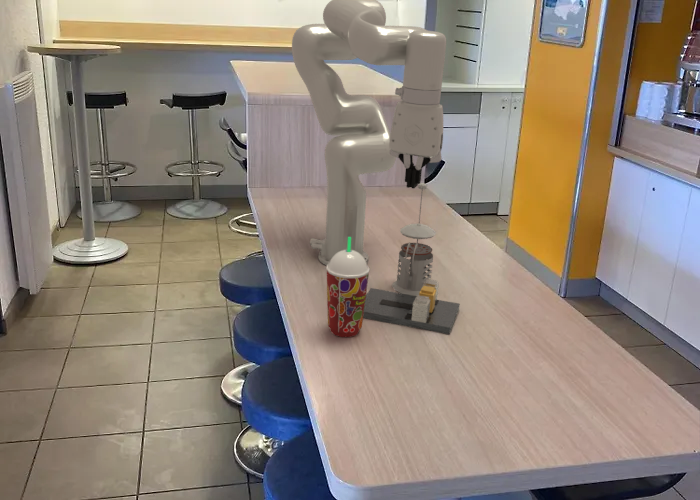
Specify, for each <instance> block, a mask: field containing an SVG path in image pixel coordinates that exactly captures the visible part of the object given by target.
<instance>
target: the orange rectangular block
mask: <svg viewBox="0 0 700 500" xmlns="http://www.w3.org/2000/svg"><path fill="white" fill-rule="evenodd" d="M419 295H420V296H426V297H429V299H431V301H430V311H429V312H430V313H432V311H433V309H434V307H435V298H436V290H435V288H434V287H429V286H423V288H422V289H421V291H420V293H419Z"/></svg>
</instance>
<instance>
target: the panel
mask: <svg viewBox="0 0 700 500" xmlns="http://www.w3.org/2000/svg"><path fill="white" fill-rule="evenodd" d="M423 286H429V287H434V288H435V290H436V298H435V307H434V309H433V311H432V313H430V312H429V311H430V301H431V299H429V297H426V296H420V295H417V296H413V295H408V294H402V293H399V292H397V291H395V292H394V291H389V290H384V289H380V288H379V289H377V288H373V287H370V289H369V290H368V292H366V299H365V307H364V314H363V319H366V320H372V321H378V322H382V323H388V324H394V325H398V326H403V327H409V328H413V329H414V328H415V329H420V330H425V331H430V332H431V331H432V332H435V333H442V334H447V335H450V334H451V331H452V329H453V326H454V324H455V323H456V322H455V321H456V319H457V316H458V314H459V311H460V307H461V306H460V303H457V302H453V301H446V300H440V299H438V294H439V293H438V292H439V282H438V280H435V279H431V278H429V279H426V281H425V282H424V284H423ZM423 286H422V288H423Z"/></svg>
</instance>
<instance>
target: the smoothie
mask: <svg viewBox="0 0 700 500" xmlns="http://www.w3.org/2000/svg"><path fill="white" fill-rule="evenodd" d="M325 266H326V267H325V268H326V297H327V298H326V301H327V302H326V303H327V307H326V309H327V326H328V328H329V330H330V332H331V334H333V335H335V336H337V337H338V338H351V337H354V336H356V335H358V334H359V332H360V330H361V329H362V327H363V320H364V318H363V314H364V307H365V299H366V294H367V293H368V292H367V290H368V284H369V283H368V282H369V277H370V266H369V265H368V263H366V260H365V259H364V257H363V256H362V255H361V254H360V253H358V252H356V251H354V250H351V237H348V246H347V250H342V251H340V252H338V253H336V254H335V255H334V256H333V257H332V259H331V260H330V262H329V264H328V265H325Z"/></svg>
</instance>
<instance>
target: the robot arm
mask: <svg viewBox="0 0 700 500" xmlns="http://www.w3.org/2000/svg"><path fill="white" fill-rule="evenodd" d="M322 20H323V23H312V24H305V25H303V26H301V27H299V28H297V29H296V30H295V32H294V34H293V36H292V40H291V53H292V60H293V62H294V63H293V64H294V66H295V68H296V70H297V73H298V74H299V77H300V78H301V80H302V81H303V83H304V84H305V86H306V88H307V91H308V93H309V96H310V100H311V102H312V106H313V108H314V111H315V114H316V117H317V120H318V124H319V126H320V128H321V130H322V131H323V132H324V134H326V135H327V136H335V137H333V138H331V139H330V140H329V141H327V143H326V145H325V148H324V162H325V167H326V168H325V169H326V177H327V178H326V184H327V186H326V187H327V188H326V189H327V190H326V191H327V192H326V193H327V195H326V217H325V218H326V220H325V221H326V222H325V224H326V225H325V238H323V239H318V238H310V241H309V244H310V246H311V248H310V249H312V250H319V251H320V252H319V253H318V261H319V262H320V263H322V265H325V266H327V265H328V264H329V262H330V260H331V259H332V257H333V256H334V255H335V254H336V253H338V252H340V251H342V250H347V246H348V237H351V250H354V251H356V252H358V253H360V254H361V255H362V256H363V257H364V259H365V260H366V263H367V264H368V263H369V259H370V258H369V257H370V256H369V254H368V253H367V252H365V250H364V239H365V238H364V236H365V223H366V221H365V220H366V208H367V207H366V206H367V205H366V204H367V192H366V189H365V186H364V185H363V183H362V182H361V180H360V178H359V176H360V175H365V174H375V173H383V172H387V171H389V170H390V169H392V168H393V167H394V165H395V164H396V163H395V162H396V159H399V160H400V161H401V163H402V164H403V167H404V168H405V175H404V183H406V188H411V189H415V188H416V187H418V185H419V184H420V183H421V181H422V172H423V171H422V170H423V168H424V167H425V166H426V165H428V164H429V163H430V164H432V163H440V162H441V161H442V160H443V159H442V148H443V143H444V142H443V141H444V108H443V104H440V102H441V96H442V95H441V94H442V86H443V77H444V69H445V68H444V67H445V59H446V58H445V57H446V48H447V38H446V35H445V34H444V33H442V32H439V31H435V30H434V31H433V30H427V29H425V28H423V27H419V26H409V25H408V26H407V25H406V26H405V25H386V24H387V23H386V22H387V15H386V10H385V8H384V6H383V4H381V2H380V1H378V0H330V1H329V2H328V3H327V4H326V5H325V7H324V9H323V12H322ZM355 59H356V60H357V59H359V60H361V61H362V62H364V63H367V64H370V65H373V66H404V70H403V81H402V86H401V87H400V88H399V87H396V88H395V89H394V90H395V92H394V95H396V96H399V97H400V101H397V103H396V106H395V109H394V112H393V118H392V123H391V129H390V128H389V125H388V123H387V120H386V117H385V114H384V112H383V109H382V106H381V105H380V103H379V102H378V101H377V99H376V98H374V97H373V96H370V95H365V94H349V93H347V92H346V89H345V87H344V84H343V81H342V79H341V77H340V76H339V74H338V73H337V72H336V71H335V70H334V69H333V68H332V67H331V66H330V65H328V64H327V63H326V62H325V61H352V60H355ZM414 156H416V157H417V159H416V163H414Z"/></svg>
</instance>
